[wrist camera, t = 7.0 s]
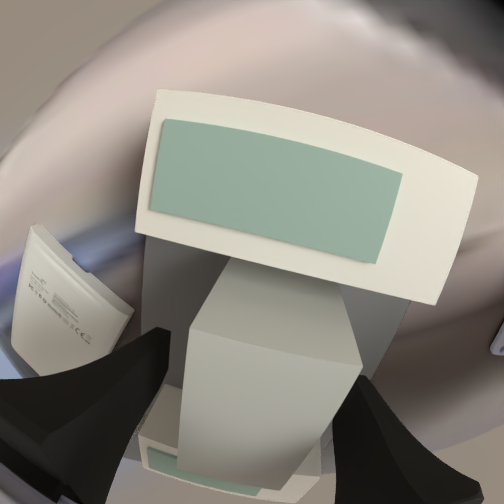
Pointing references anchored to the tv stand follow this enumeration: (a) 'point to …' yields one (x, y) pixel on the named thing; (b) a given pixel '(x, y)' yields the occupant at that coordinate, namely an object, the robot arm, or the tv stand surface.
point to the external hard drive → (62, 309)
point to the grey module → (263, 374)
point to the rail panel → (285, 233)
